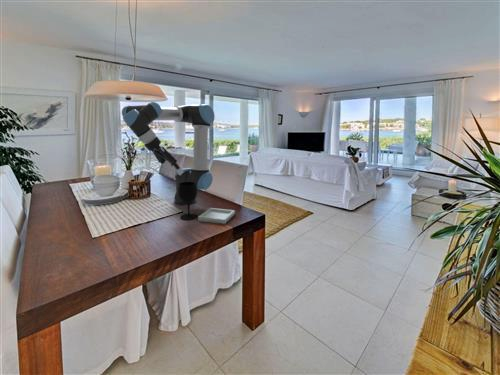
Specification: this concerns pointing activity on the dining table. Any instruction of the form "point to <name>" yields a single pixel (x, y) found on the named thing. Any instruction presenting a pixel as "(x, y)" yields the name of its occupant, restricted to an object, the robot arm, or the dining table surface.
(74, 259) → the dining table surface
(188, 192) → the wine glass
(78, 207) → the dining table surface
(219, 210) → the tray
